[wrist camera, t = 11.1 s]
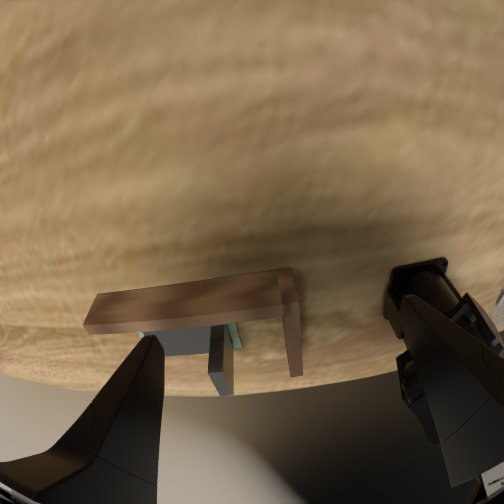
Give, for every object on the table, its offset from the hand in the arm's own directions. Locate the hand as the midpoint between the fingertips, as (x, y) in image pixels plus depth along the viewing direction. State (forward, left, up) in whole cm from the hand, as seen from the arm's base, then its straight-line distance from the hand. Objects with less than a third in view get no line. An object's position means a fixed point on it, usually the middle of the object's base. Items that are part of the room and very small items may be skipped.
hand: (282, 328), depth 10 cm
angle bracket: (+9, +13, -12) cm, 20 cm away
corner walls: (+7, +12, -12) cm, 18 cm away
